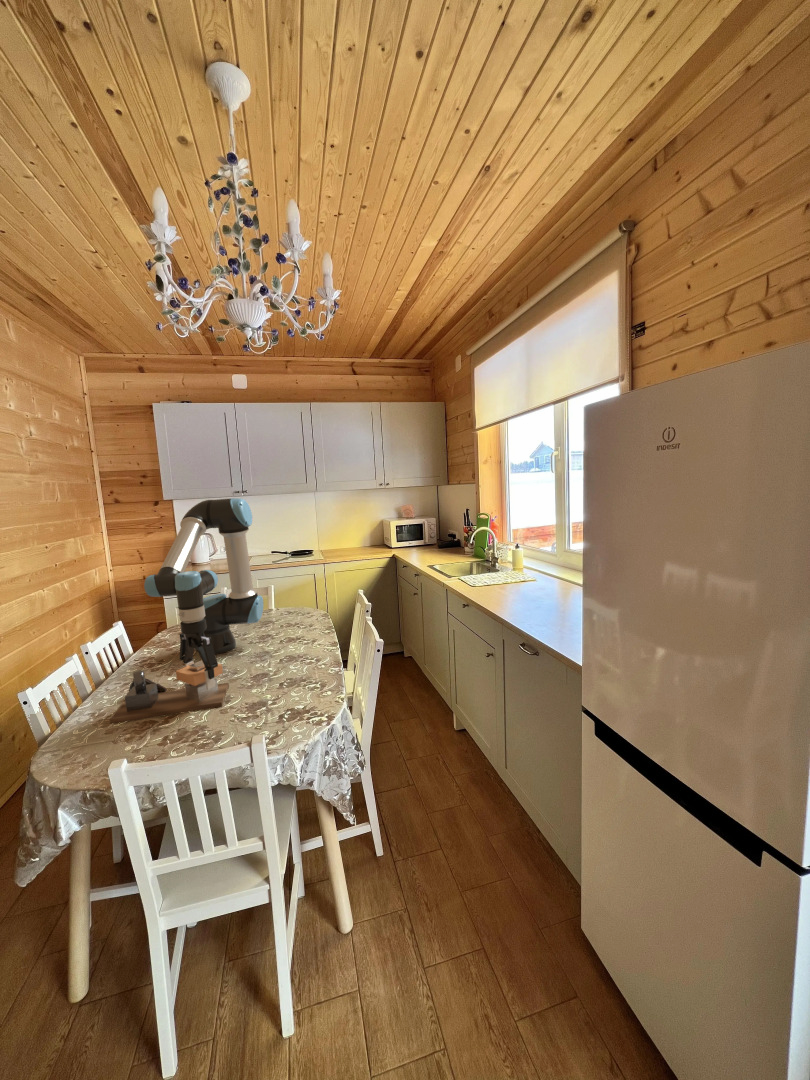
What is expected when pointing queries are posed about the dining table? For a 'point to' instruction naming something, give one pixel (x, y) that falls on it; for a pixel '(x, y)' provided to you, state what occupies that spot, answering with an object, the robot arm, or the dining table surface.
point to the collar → (195, 675)
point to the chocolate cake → (148, 681)
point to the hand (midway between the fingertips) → (201, 684)
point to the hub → (200, 686)
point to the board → (171, 705)
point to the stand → (141, 693)
